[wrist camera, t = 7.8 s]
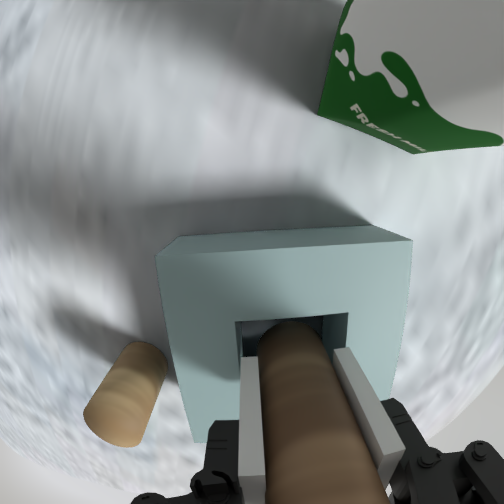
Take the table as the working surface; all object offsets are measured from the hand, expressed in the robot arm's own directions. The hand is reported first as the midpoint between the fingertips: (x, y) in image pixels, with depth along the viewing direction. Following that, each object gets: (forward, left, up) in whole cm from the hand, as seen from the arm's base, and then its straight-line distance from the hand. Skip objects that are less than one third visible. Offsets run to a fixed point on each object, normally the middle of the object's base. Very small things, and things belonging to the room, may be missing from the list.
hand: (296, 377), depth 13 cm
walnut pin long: (0, 0, -3) cm, 3 cm away
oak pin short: (+3, -10, -6) cm, 12 cm away
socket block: (0, 0, -6) cm, 6 cm away
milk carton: (-15, +7, -6) cm, 18 cm away
